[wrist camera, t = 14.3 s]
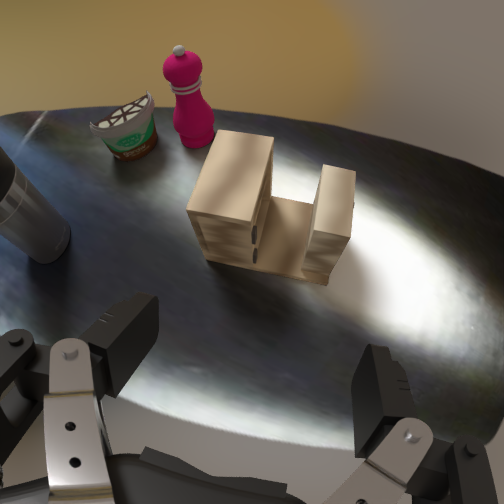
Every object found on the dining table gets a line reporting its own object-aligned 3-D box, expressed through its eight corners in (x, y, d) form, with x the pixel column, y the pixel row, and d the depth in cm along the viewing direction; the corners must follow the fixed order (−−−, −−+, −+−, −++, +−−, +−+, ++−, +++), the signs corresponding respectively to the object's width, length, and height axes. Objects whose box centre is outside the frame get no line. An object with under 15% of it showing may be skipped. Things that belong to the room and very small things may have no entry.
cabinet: (205, 259, 46) (185, 209, 33) (227, 191, 51) (218, 129, 38) (326, 285, 44) (352, 242, 31) (336, 213, 49) (358, 154, 36)
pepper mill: (224, 134, 56) (213, 42, 38) (194, 157, 54) (171, 63, 36) (200, 118, 58) (183, 31, 40) (170, 138, 56) (144, 51, 38)
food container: (116, 178, 53) (95, 141, 44) (106, 158, 55) (87, 123, 46) (175, 144, 55) (162, 104, 46) (161, 127, 58) (149, 88, 48)
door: (300, 270, 44) (313, 229, 33) (310, 214, 47) (323, 164, 36) (335, 277, 43) (359, 239, 32) (342, 221, 47) (363, 173, 36)
